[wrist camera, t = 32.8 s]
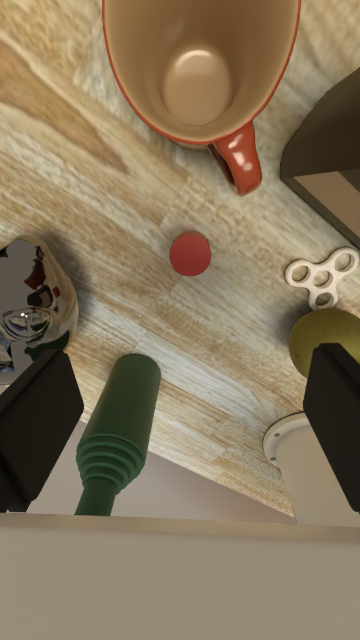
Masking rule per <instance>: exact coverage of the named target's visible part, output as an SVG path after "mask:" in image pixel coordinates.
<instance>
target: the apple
mask: <svg viewBox="0 0 360 640" xmlns="http://www.w3.org/2000/svg"><path fill="white" fill-rule="evenodd" d="M320 343H340V344H341V345H342V346H343V347H344V348H345V349H346V350H347V351H348V352H349V354H350V355H351V356H352V357H353V358H354V359H355V360H356V361H357V362H358V363H359V364H360V319H359V318H358V317H356V316H355V315H353V314H351V313H349V312H346V311H344V310H340V309H336V308H323V309H318V310H315V311H312V312H309V313H307V314H306V315H304V316H302V317H301V318H300V319H299V320H297V321H296V322H295V324H294V325H293V327H292V329H291V332H290V335H289V352H290V356H291V359H292V362H293V364H294V365H295V367H296V368H297V370H298V371H299V372H300V373H301V374H302V375H303V376H304V377H306V378H307V379H308V374H309V369H310V364H311V358H312V353H313V349H314V348H315V347H318V346H319V344H320Z"/></svg>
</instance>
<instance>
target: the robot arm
mask: <svg viewBox="0 0 360 640" xmlns="http://www.w3.org/2000/svg"><path fill="white" fill-rule="evenodd" d="M303 409H304V413H300V414H295V415H292V416H289V417H286V418H284V419H282V420H281V421H279V422H277V423H276V424H275V425H273V426H272V427H271V428H270V429H269V430H268V431H267V433H266V435H265V437H264V440H263V448H264V452H265V455H266V457H267V459H268V460H269V461H270V462H271V463H272V464H273V465H274V466H276V467H278V468H280V469H281V473H282V476H283V479H284V483H285V486H286V489H287V492H288V496H289V499H290V502H291V506H292V509H293V512H294V515H295V519H296V522H297V524H284V523H261V522H260V523H259V522H238V521H216V520H192V519H167V518H141V517H113V516H87V515H57V514H27V513H6V511H7V509H8V510H9V511H10V512H26V511H27V509H28V507H29V505H30V503H31V501H33V500H35V499H36V498H37V497H38V495H39V493H40V492H41V490H42V488H43V486H44V484H45V482H46V480H47V479H48V477H49V475H50V473H51V471H52V469H53V467H54V465H55V463H56V461H57V460H58V458H59V456H60V454H61V452H62V451H63V449H64V447H65V445H66V443H67V441H68V439H69V437H70V436H71V434H72V432H73V430H74V428H75V426H76V424H77V423H78V421H79V419H80V417H81V415H82V413H83V410H84V403H83V400H82V397H81V394H80V390H79V387H78V384H77V381H76V378H75V375H74V372H73V369H72V365H71V362H70V359H69V356H68V354H67V353H64V351H63V350H61V349H59V350H45V351H44V352H43V353H42V354H41V355H40V356H39V357H38V358H37V359H36V360H35V361H34V362H33V363H32V364H31V365H30V366H29V367H28V368H27V369H26V370H25V371H24V372H23V373H22V374H21V375H20V376H19V377H18V378H17V379H16V380H15V381H14V382H13V383H12V384H11V385H10V386H9V387H8V388H7V389H6V390H5V391H4V392H3V393H2V394H1V395H0V640H360V364H359V363H358V362H357V361H356V360H355V359H354V358H353V357H352V356H351V355H350V354H349V352H348V351H347V350H346V349H345V348H344V347H343V346H342V345H341V344H340V343H320V344H319V346H318V347H315V348H314V349H313V353H312V358H311V364H310V369H309V374H308V379H307V384H306V390H305V395H304V400H303Z"/></svg>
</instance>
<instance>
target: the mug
mask: <svg viewBox="0 0 360 640" xmlns="http://www.w3.org/2000/svg"><path fill="white" fill-rule="evenodd" d="M300 9H301V0H102V18H103V30H104V38H105V44H106V49H107V54H108V57H109V61H110V65H111V68H112V71H113V74H114V76H115V79H116V81H117V83H118V86H119V88H120V90H121V92H122V93H123V95H124V97H125V99H126V100H127V102H128V103H129V105H130V106H131V108H132V109H133V110H134V112H135V113H136V114H137V115H138V116H139V117H140V118H141V119H142V121H144V122H145V123H146V124H147V125H148V126H149V127H151V128H152V129H153V130H155V131H156V132H158V133H159V134H161V135H163V136H165V137H166V138H167V139H168V140H170V141H171V142H172V143H174V144H176V145H177V146H179V147H181V148H183V149H187V150H196V151H201V150H206V149H208V150H209V152H210V154H211V156H212V157H213V159H214V160H215V161H216V163H217V164H218V165H219V167H220V168H221V170H222V172H223V174H224V176H225V178H226V180H227V182H228V184H229V186H230V188H231V189H232V191H233V192H234V193H235V194H236V195H237V196H240V197H242V196H245V195H248V194H249V193H251V192H253V191H255V190H256V189H257V188H258V187H259V186H260V184H261V181H262V172H261V167H260V162H259V159H258V155H257V151H256V147H255V129H254V124H253V119H254V118H255V117H256V116H257V115H258V114H259V113H260V112H261V111H262V110H263V109H264V108H265V107H266V105H267V104H268V102H269V101H270V99H271V97H272V96H273V94H274V92H275V90H276V89H277V87H278V85H279V83H280V81H281V79H282V77H283V74H284V72H285V70H286V67H287V65H288V62H289V59H290V56H291V53H292V50H293V47H294V43H295V39H296V35H297V30H298V25H299V17H300Z"/></svg>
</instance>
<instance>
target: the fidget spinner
mask: <svg viewBox="0 0 360 640" xmlns="http://www.w3.org/2000/svg"><path fill="white" fill-rule="evenodd" d="M347 253H348V254H350V255H351V262H350V264H349V266H348V267H347V268H345V269H343V270H336V269H335V261H336V260H337V258H338V257H339V256H341V255H343V254H347ZM358 263H359V254H358V252H357V251H356V250H354V249H352V248H348V247H344V248H340V249H338V250H336V251H335V252H334V253H332V255H331V256H330V257H329V258H328V260H326V261H325V262H323V263H321V264H313V263H311V262H309V261H307V260H297V261H295V262H293V263H291V264H290V265H289V266H288V268H287V270H286V273H285V278H286V281H287V282H288V284H290V285H291V286H293V287H305V288H307V289H308V290H309V292H310V297H309V305H310V307H311V308H312V309H313V310H318V309H323V308H332V307H334V305H335V304H336V303H337V300H338V294H337V292H336V284H337V282H338V281H339V280H340V279H341V278H342V277H344V276H346V275H348V274H350V273H351V272H353V271H354V270H355V268H356V267H357V265H358ZM299 266H307V268H308V274H307V276H306V277H305V278H304V279H303V280H301V281H293V280H292V272H293V271H294V269H295V268H297V267H299ZM323 271H328V272H329V274H330V277H329V280H328V281H327V283H326V284H324V285H322V286H315V285H314V279H315V277H316V275H317V274H319V273H320V272H323ZM325 292H329V293H330V294H331V299H330V301H329V302H328V303H327V304H325V305H323V306H317V305H316V304H315V300H316V298H317V297H318V296H319V295H320V294H322V293H325Z"/></svg>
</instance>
